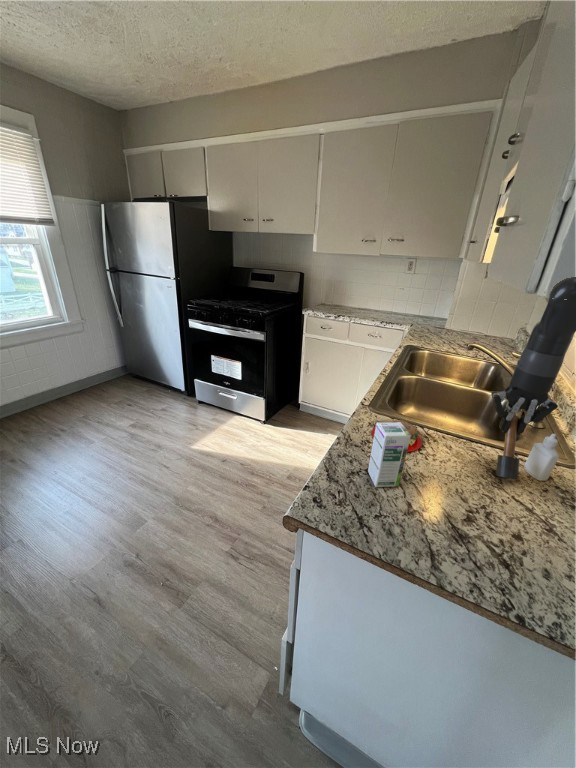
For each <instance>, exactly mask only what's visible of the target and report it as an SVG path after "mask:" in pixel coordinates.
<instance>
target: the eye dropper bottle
mask: <svg viewBox="0 0 576 768" xmlns="http://www.w3.org/2000/svg"><path fill="white" fill-rule="evenodd" d="M556 436H557V434H556V433H551V434H550V436H545V437H544V440H543V441H542V442H535V443H534V444H533V446H532V448H531V449H530V452H529V454H528V455H527V459H526V460H525V463H524V465H523V468H524V470H525V471H526V473H527V474H529V476H531V477H532V478H534V479H536V480H537V481H539V482H540V481H541V482H544V481H548V480H549V478H550V476H551V474H552V472H553V470H554V469H555V467H556V464H557V462H558V460H559V457H560V456H559V453H558V452H557V450H556V449H555V448H556V447H557V445H558V443H559V440H558V438H556Z"/></svg>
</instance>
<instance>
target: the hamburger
mask: <svg viewBox="0 0 576 768" xmlns="http://www.w3.org/2000/svg"><path fill="white" fill-rule="evenodd" d="M397 422H401V424H402V425H403V426H404V427H405V428H406V429H407V431H408V432H409V434H410V441H409V445H408V449H407V453H410V452H415V451H417V450H419V449H420V448H421V447H422V445H423V440H422V438H421V436H420V435H419V431H418V429H417V427H416V426H415V425H413V424H412V423H411V422H408V421H407V420H403V419H396V420H393V421H392V422H391V423H397ZM375 428H376V426H374V427H373V428H372V430H371V436H372V438H373V439H374V434H375Z"/></svg>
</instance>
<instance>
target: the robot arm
mask: <svg viewBox="0 0 576 768" xmlns="http://www.w3.org/2000/svg"><path fill="white" fill-rule="evenodd" d="M552 298H554V299H552ZM564 299H567V300H564ZM544 300H545V301H546V303H547V304H546V307H545V309H544V311H543V313H542V316H541V318H540V321H537V322H536V323H535V325H534V326H533V327H532V330H531V333H530V335H529V336H528V339H527V342H526V344H525V346H524V348H523V351H522V352H521V353H520V356H519V358H518V360H517V362H516V365H515V368H514V371H513V373H512V376H511V378H510V382H509V385H508V386H507V387H506V388H505V389H504V390H503V391H498V392H497V391H491V393H490V394H491V399H492V402H493V406H494V410H495V413H496V415H498V417H499V418H501V419H500V421H499V424H498V428H499V430H500V431H501V433H504V434H505V433H507V430H508V428H509V426H510V423H511V419H512V418H513V416H515V414H517V413H518V411H519V410H521V411H520V415H519V417H520V418H519V417H518V425H517V435H516V436H520V435H521V434H524V432H525V430H526V427H527V425H528V424H529V423H539V422H540V421H542V420H543V419H544V418H546V417H547V416H548V415H550V414H551V413H552V412H553V411H555V410H557V409H558V407H559V405H558V404H557V403H556V402H555V400H553V398H552V399H551V398H549V393H550V392H551V389H552V388H553V385H554V383H555V381H556V379H557V377H558V376H559V372H560V370H561V368H562V367H563V363H564V361H565V356H566V354H567V352H568V350H569V347H570V345H571V344H572V341H573V338H574V336H575V334H576V277H571V278H566V279H564V280H562V281H560V282H559V283H557V284H556V285H555V286H554V287H553V289H552V291H551V292H550V294H549V298H545V297H544ZM505 398H506V399H507V403H506V404H505V408H504V407H503V404H502V403H503V402H504V401H505Z"/></svg>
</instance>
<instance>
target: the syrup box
mask: <svg viewBox="0 0 576 768" xmlns="http://www.w3.org/2000/svg"><path fill="white" fill-rule="evenodd" d="M375 427H376V428H375V434H374V438H373V440H372V444H371V445H372V446H371V451H370V457H369V463H368V469H367V472H368V474H369V476H370V479H371V481H372V483H373V485H374V487H375V488H388V487H389V488H390V487H391V488H392V487H399V486H400V482H401V479H402V474H403V471H404V470H403V469H404V465H405V461H406V457H407V454H408V452H407V449H408V445H409V441H410V434H409V432H408V431H407V429H406V428H405V427H404V426H403V425H402V424H401V422H397V423H392V422H380V421H379V422H376V423H375Z"/></svg>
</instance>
